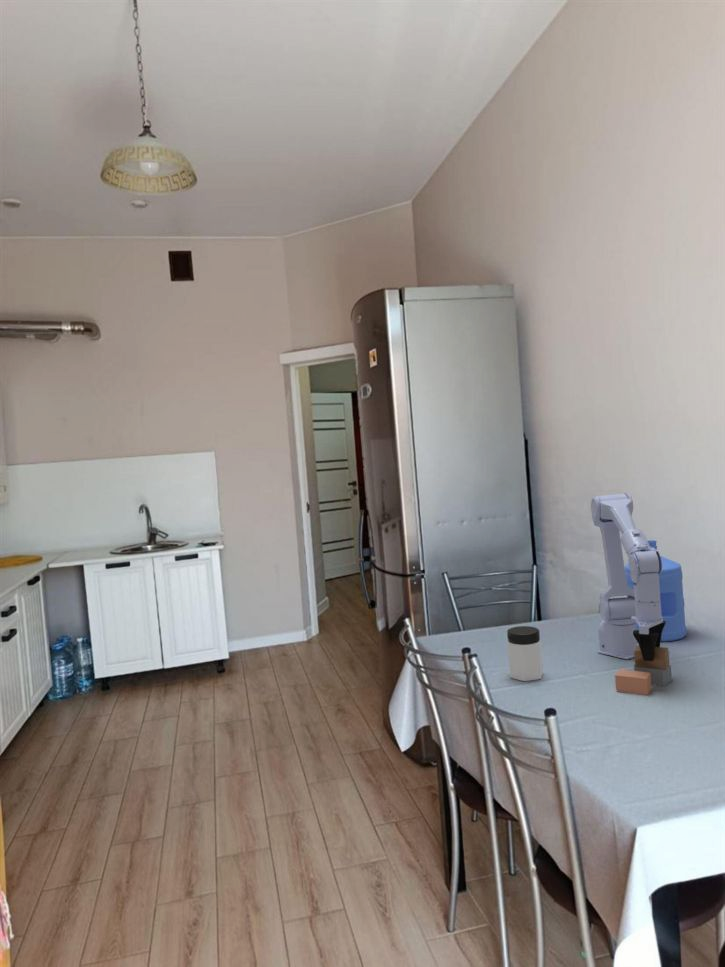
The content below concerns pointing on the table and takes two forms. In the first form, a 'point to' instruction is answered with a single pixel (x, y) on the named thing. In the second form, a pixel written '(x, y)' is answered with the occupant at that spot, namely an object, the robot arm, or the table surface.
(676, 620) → the water jug
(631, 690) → the terracotta block
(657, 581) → the robot arm
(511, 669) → the jar
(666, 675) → the grey block
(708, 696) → the table surface
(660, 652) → the walnut block
